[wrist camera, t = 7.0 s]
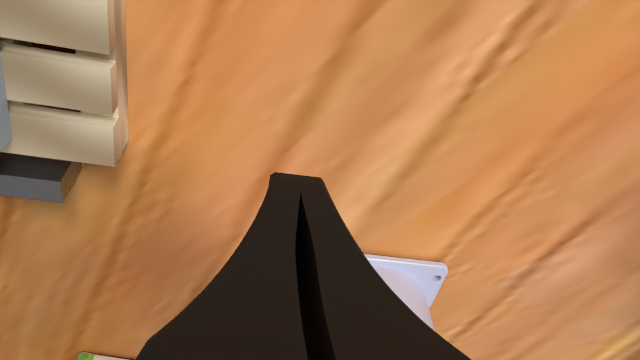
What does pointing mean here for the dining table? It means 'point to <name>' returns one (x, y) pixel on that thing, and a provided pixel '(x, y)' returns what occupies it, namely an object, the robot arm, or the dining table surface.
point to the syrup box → (95, 357)
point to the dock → (36, 177)
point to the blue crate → (4, 114)
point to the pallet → (66, 78)
